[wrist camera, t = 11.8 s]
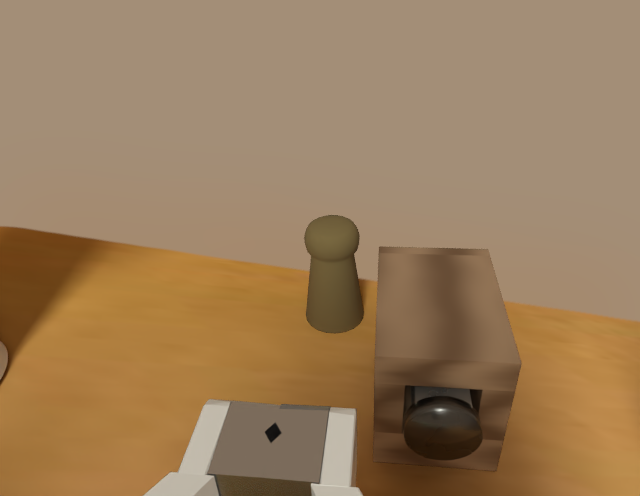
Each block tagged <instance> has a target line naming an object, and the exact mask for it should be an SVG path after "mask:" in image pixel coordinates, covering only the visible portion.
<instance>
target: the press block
mask: <svg viewBox="0 0 640 496" xmlns="http://www.w3.org/2000/svg"><path fill="white" fill-rule="evenodd" d="M520 368H521V360H520V357H519V353H518V350H517V346H516V343H515V340H514V336H513V333H512V329H511V326H510V323H509V319H508V316H507V312H506V309H505V305H504V302H503V299H502V295H501V292H500V289H499V285H498V282H497V278H496V275H495V271H494V268H493V264H492V261H491V258H490V254H489V251H488V249H453V248H413V247H379V262H378V288H377V315H376V341H375V382H374V441H373V462H384V463H397V464H410V465H423V466H436V467H449V468H462V469H475V470H488V471H496V470H497V466H498V462H499V457H500V453H501V449H502V445H503V440H504V436H505V432H506V428H507V423H508V419H509V415H510V411H511V406H512V402H513V398H514V394H515V389H516V385H517V381H518V377H519V372H520ZM411 386H428V387H445V388H463V389H469V390H470V396H471V402H472V406H473V407H474V408H475V409H476V411H477V412H478V414H479V417H480V422H481V428H482V434H483V439H482V443H481V445H480V446H479V447H478V449H477V450H476V451H474V452H473V453H472V454H470V455H468V456H466V457H463V458H460V459H455V460H446V461H443V460H433V459H429V458H425V457H423V456H420V455H418V454H417V453H415V452H414V451H412V450H411V449H410V448H409V447H408V445H407V444H406V442H405V439H404V415H405V412H406V411H407V409H408V408H409V407H410V406H411Z"/></svg>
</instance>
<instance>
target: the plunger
mask: <svg viewBox="0 0 640 496" xmlns="http://www.w3.org/2000/svg"><path fill="white" fill-rule="evenodd" d="M404 439H405V442H406V444H407V445H408V447H409V448H410V449H411V450H412V451H414V452H415V453H417V454H418V455H420V456H423V457H425V458H429V459H433V460H443V461H446V460H455V459H460V458H463V457H466V456H468V455H470V454H472V453H473V452H474V451H476V450H477V449H478V447H479V446H480V445H481V443H482V439H483V434H482V428H481V422H480V417H479V414H478V412H477V411H476V409H475V408H474V407H473V406H472V402H471V396H470V390H469V389H463V388H445V387H428V386H411V406H410V407H409V408H408V409H407V411H406V412H405V415H404Z"/></svg>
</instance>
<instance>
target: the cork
mask: <svg viewBox="0 0 640 496" xmlns="http://www.w3.org/2000/svg"><path fill="white" fill-rule="evenodd" d="M304 238H305V245H306V248H307V251H308V252H309V254H310V255H311V265H310V276H309V287H308V298H307V310H306V317H307V321H308V322H309V323H310V325H311V326H312V327H314V328H316V329H317V330H319V331H323V332H326V333H341V332H346V331H349V330H351V329H354V328H355V327H356V326H357V325H359V324H360V322H361V321H362V319H363V314H364V311H363V305H362V299H361V293H360V287H359V281H358V275H357V270H356V263H355V258H354V253H355V252H356V251H357V248H358V245H359V232H358V229H357V227H356V225H355V224H354V223H353V222H352V221H351V220H350V219H348V218H345V217H343V216H338V215H328V216H323V217H319V218H317V219H315V220H313V221H312V222H311V223H310V224H309V226H308V227H307V229H306V232H305V237H304Z"/></svg>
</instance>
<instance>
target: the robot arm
mask: <svg viewBox="0 0 640 496" xmlns="http://www.w3.org/2000/svg"><path fill="white" fill-rule="evenodd" d="M7 362H8V353H7V349H6V347H5V345H4V344H3V343H2V342H1V341H0V379H1V378H2V376H3V374H4V372H5V369H6V366H7ZM356 475H357V410H356V409H353V408H336V407H329V406H309V405H289V404H281V405H274V404H263V403H252V402H241V401H229V400H216V399H209V400H208V401H207V402H206V404H205V405H204V406H203V409H202V411H201V414H200V416H199V419H198V421H197V424H196V427H195V429H194V432H193V434H192V437H191V439H190V442H189V445H188V447H187V450H186V452H185V455H184V457H183V460H182V463H181V465H180V468H179V470H178V472H170V473H169V474H167V475H166V476H165V477H164V478H163V479H162V480H160V481H159V482H158V483H157V484H156V485H155V486H154V487H152V488H151V489H150V490H149V491H148V492H147V493H145V494H144V495H143V496H363V494H362V493H361V491H360V489H359V488H358V487H356Z"/></svg>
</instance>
